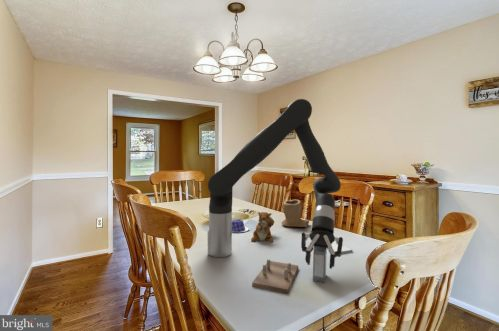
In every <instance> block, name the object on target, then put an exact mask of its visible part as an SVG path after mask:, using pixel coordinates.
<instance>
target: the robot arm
mask: <svg viewBox="0 0 499 331" xmlns="http://www.w3.org/2000/svg"><path fill="white" fill-rule="evenodd" d="M312 112H313V108H312V104H311V103H310V101H309V100H307V99H304V98H297V99H295V100H293V101H292V102H290V103H289V105H288V106H287V108H286V109H285V110H283V112H282V113H281V114H280V116H278V117H277V119H275V120H274V121H273V122H271V123H270V124H269V125H268V126H265V128H263V129H262V130H261V131H259V133H256V135H254V136H253V138H251V139H250V140H249V141H248V142H246V144H245V145H244V146H243V147H242V148H241V149H240V150H239V151H238V153H236V155H235V156H234V157H233V158H232V159H231V161H229V162H228V164H226V165H225V166H224V167H222V168H221V169H219V170H218V171H217V172H215V173H213V174H212V175H211V176H210V177H209V178H208V182H207V189H208V191H209V196H210V198H209V203H208V204H209V205H208V231H207V255H208V256H211V257H212V258H213V257H215V258H224V257H228V256H230V255H232V251H233V231H232V221H233V219H232V218H233V188H234V186H235V185H236V184H237V182H238V181H240V179H242V177H244V176H245V175H246V174H247V173H248V172H250V171H251V170H253V169H254V168H255V167H257V166H258V165H259V164H260V163H262V161H264V160H265V159H266V158H268V156H270V154H271V153H273V152H274V151H275V150H276V149H277V148H278V146H280V145H281V143H282V142H283V141H284V140H285V139H286V137H288V135H289V134H291V133H292V132H293V131H294V132H295V134H296V136H297V138H298V141H299V143H300V144H301V147H302V150H303V152H304V155H305V158H306V160H307V163H308V165H309V168H310V171H311V172H312V173H313V174H322V175H323V176H321V177H318V178H316V179H315V180H314V181H313V183H312V188H313V191H314V197H315V204H314V205H315V206H314V212H313V214H312V215H313V216H312V224H311V231H310V233H305V232H301V242H300V243H301V246H300V247H301V251H302V252H305V258H304V260H305V263H306V264H307V265H308V266H309V265H310V264H311V257H312V254H311V253H312V252H314V248H315V245H321V246H327V251H328V253H329V269H333V268H334V267H335V261H336V260H335V259H336V258H337V257H338V258H340V257H341V256H342V254H341V251H342V245H343V244H344V238H343V237H342V236H339V237H337V236H335V235H334V233H335V232H334V231H335V220H336V219H335V205H336V204H335V203H336V202H335V201H336V200H335V197H334V196H333V195H332V194H333V193H338V192H339V191H340V190H341V186H342V183H341V180H340V178H339V177H338V175H337V174H336V173H335V171H334V170H333V169H332V168H331V166H330V164H329V162H328V161H327V160H328V159H327V158H326V156H325V152H324V150H323V148H322V146H321V144H320V143H319V141H318V140H317V138H316V136H315V135H314V133H313V130H312V128H311V125H310V121H309V119H310V118H311V116H312ZM309 239H310V243H309V245H308V246H306V244H307V242H306V241H308V240H309ZM334 241H335V242H336V244H337V245H338V248H337V251H335V252H334V250H333V248H332V245H331V244H332V243H333V242H334ZM343 246H344V245H343Z"/></svg>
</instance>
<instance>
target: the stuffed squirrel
mask: <svg viewBox="0 0 499 331" xmlns="http://www.w3.org/2000/svg"><path fill="white" fill-rule="evenodd" d="M257 214H258V223H257V225H256V226H255V230H254V231H253V232H252V233H253V235H252V237H251V239H250V240H251V242H256V241H257V242H258V241H264V242H265V241H266V242H268V243H273V241H274V239H273V235H272V232H271V228H272V227H273V226H274V224H275V221H274V219H273V217H271V215H272V214H273V213H272V212H270V213H268V212H266V211H265V212H264V211H261V212H260V211H258V212H257Z"/></svg>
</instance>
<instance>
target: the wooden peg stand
mask: <svg viewBox="0 0 499 331" xmlns="http://www.w3.org/2000/svg"><path fill="white" fill-rule="evenodd" d="M298 270H299V265H297V264H292V263H291V262H287V263H285V262H281V261H273V260H271V259H270V258H269V259H266V263H265V264H262V269H261V270H260V272H259V273H258V274H257V276H256V277H255V278H254V279H253V281H252V287H254V288H260V289H263V288H264V289H265V290H268V289H269V291H272V292H273V291H274V292H278V293H282V294H283V293H284V294H288V293H289V291H290V289H291V287H292V285H293V282H294V279H295V277H296V276H297V272H298Z"/></svg>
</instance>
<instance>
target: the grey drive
mask: <svg viewBox="0 0 499 331" xmlns="http://www.w3.org/2000/svg"><path fill="white" fill-rule="evenodd" d="M327 251H328V249H327V246H321V245H315V248H314V250H313V251H312V252H313V260H312V267H313V268H312V282H315V283H320V284H325V283H326V276H327Z"/></svg>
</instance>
